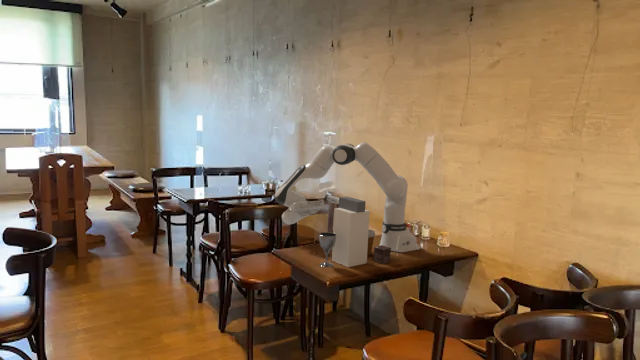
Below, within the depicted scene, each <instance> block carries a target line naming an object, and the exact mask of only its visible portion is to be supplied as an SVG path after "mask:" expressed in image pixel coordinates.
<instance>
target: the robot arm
mask: <svg viewBox="0 0 640 360" xmlns="http://www.w3.org/2000/svg"><path fill="white" fill-rule="evenodd" d="M354 161H356V162H358V163H359V164H360V165H361V166H362V168H364V169H365V170H366V172H367V173H368V174H369V175H371V177H372V178H373V180H375V181H376V183H377V185H378V186H379V187H380V189H381V190H382V191H383V193H384V194H385V202H384V209H383V210H384V211H383V221H382V225H381V226H382V227H381V231H382V233H381V237H380V238H381V239H380V242H379V245H378V246H380V245H383V246H386V247H390V248H391V252H397V253H406V252H411V251H416V250H420V249H421V246H420V245H419V244H417V239H416V236H415V235H414V234H412V233H411V231H409V230H408V229H410V228H411V224H410V223H406V222H405V217H406V216H405V215H406V207H407V206H406V204H407V196H408V185H409V184H408V182H407V181H408V180H407V179H406V178H405V177H404V176H403V175H398V174H397V173H396V172H395V171H394V169H393V168H392V167H391V165H390V164H389V162H388V161H387V160H386V159H385V158H384V157H383V156H382V155H381V154H380V153H379V152H378V151H377V150H376V149H375V148H374V147H373V146H371V145H370V144H369V143H367V142H363V141H362V142H360V143H358V144H357V145H356V146H354V145H353V144H351V143H341V144H340V145H338V146H336V147H335V148H334V147H332V146H330V145H323V146H321V147H320V149H319V150H318V151H317V152H316V153H315V154H314V155H313V157H312V159H311V160H310V161H309V162H308V163H306V164H303V165H300V166H299V167H298V168H297V169H296V170H295V171H294V172H293V173H292V174H291V175H290V176H289V178H288V179H287V180H286V181H285V182H284V183H283V184H282V185H281V186H279V187H278V189H277V190H276V191H275V193H274V199H275V201H276V204H277V203H278V204H279V205H283V206H285V207H287V209H286V210H285V211H283V212H282V214H281V220H282V221H283V222H284V224H287V225H293V224H296V223H298V222H299V221H300V220H303V219H304V218H307V217H310V216H313V215H315V214H317V212H319V211H321V210H323V209H324V208H325V206H326V205H325V200H324V199H323V198H322V199H319V200H313V201H309V200H307V197H306V196H305V195H303V194H302V193H301V192H298V191H296V190H293V187H294V186H295V185H296V184H297V183H298V182H299V181H300V180H304V179H310V180H311V179H313V180H318V179H322V178H324V177H325V176H326V175H327V173H328V172H329V170H330V169H331V167H332V166H333V165H334V164H337V165H341V166H344V165H349V164H351V163H353V162H354ZM407 228H408V229H407Z"/></svg>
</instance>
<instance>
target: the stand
mask: <svg viewBox="0 0 640 360" xmlns="http://www.w3.org/2000/svg"><path fill="white" fill-rule="evenodd" d="M338 197H339V204H338V207H336V208H334V209H333V230H332V231H333V232H332V233H335V234H336V242H335V245H334V247H333V248H332V249H331V251H332V252H331V255H332V256H331V261H333V262H334V261H335V262H334V263H337V264H339V265H341V264H342V265H341V266H344V267H346V268H350V267H356V266H360V265H364V264H367V260H368V255H367V248H368V231H369V230H370V229H369V228H370V210H368V209H366V202H367V201H366V200H361V199H359V198H355V197H350V196H342V197H341V196H338Z"/></svg>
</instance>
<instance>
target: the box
mask: <svg viewBox="0 0 640 360" xmlns="http://www.w3.org/2000/svg"><path fill="white" fill-rule="evenodd" d="M379 245H380V244H379ZM379 245H378V246H374V248H373V262H375V263H379V264H382V265H385V264H387V263H390V262H391V255H392V254H391V253H392V251H391V248H390V247H386V246H383V245H380V246H379Z"/></svg>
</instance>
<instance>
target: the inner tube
mask: <svg viewBox="0 0 640 360" xmlns="http://www.w3.org/2000/svg"><path fill="white" fill-rule="evenodd" d="M339 197H340V196H335V195H330V194H326V195H325V197H324V201H326V202H330V203H333V204H337V205H339Z"/></svg>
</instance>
